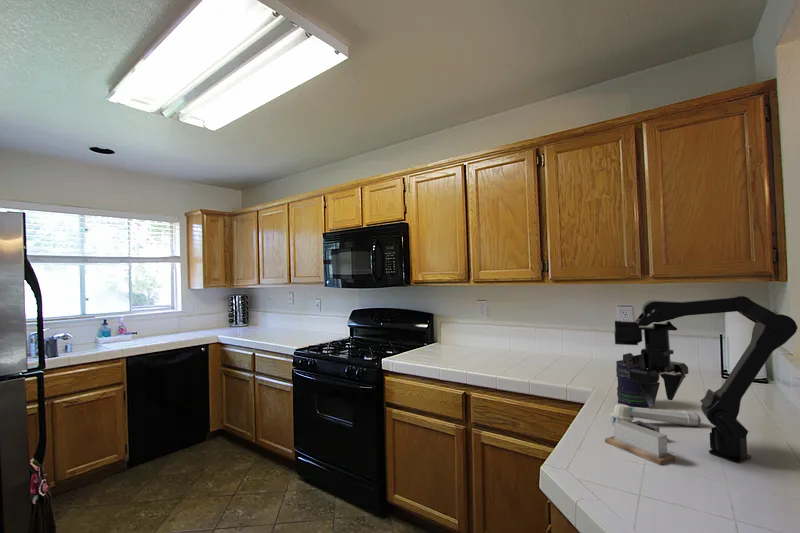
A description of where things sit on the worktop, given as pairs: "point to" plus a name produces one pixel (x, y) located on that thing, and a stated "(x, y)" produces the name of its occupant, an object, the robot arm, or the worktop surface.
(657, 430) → the vise
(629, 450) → the board
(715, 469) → the worktop surface
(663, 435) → the steel bar
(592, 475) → the worktop surface
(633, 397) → the storage jar
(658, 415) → the toothbrush head
